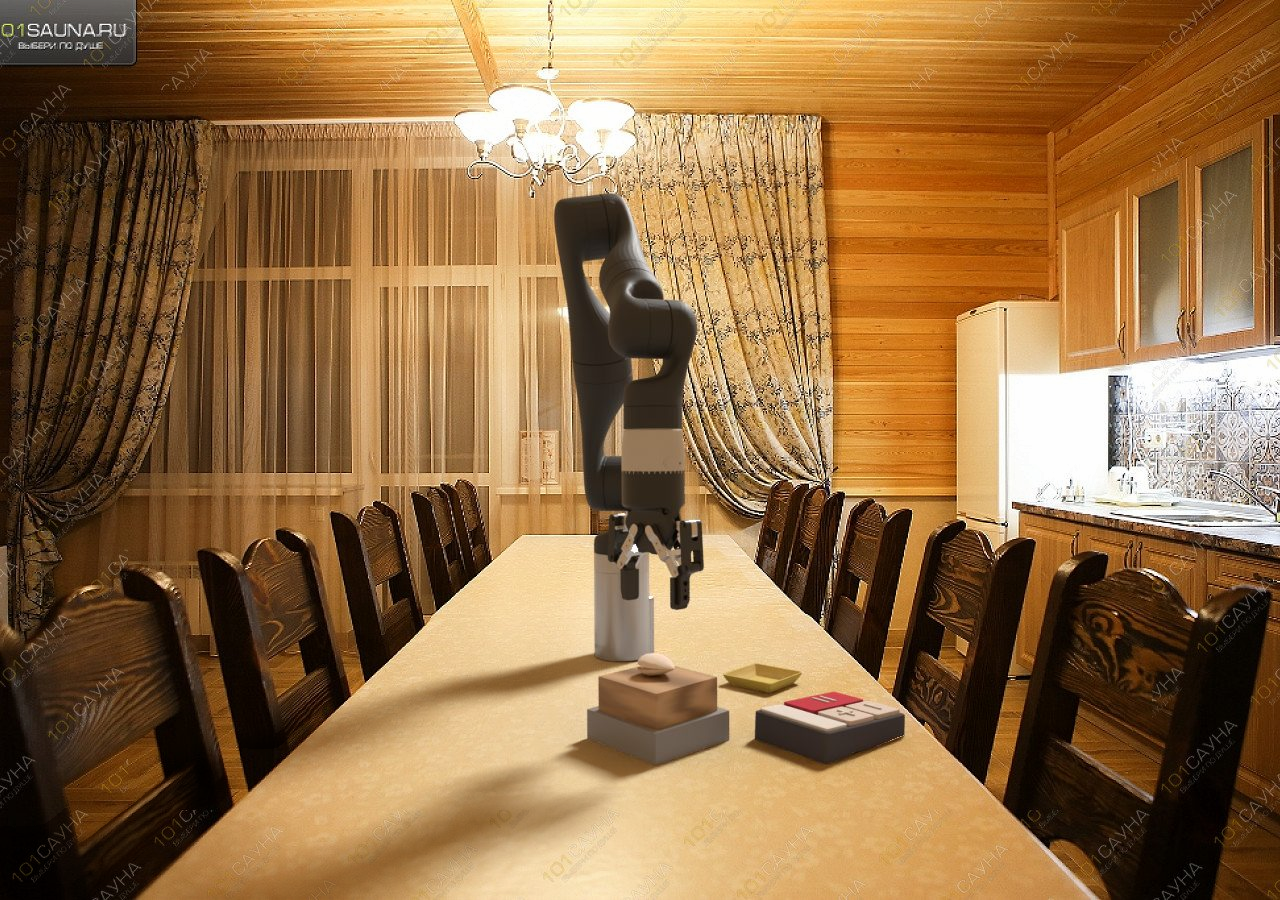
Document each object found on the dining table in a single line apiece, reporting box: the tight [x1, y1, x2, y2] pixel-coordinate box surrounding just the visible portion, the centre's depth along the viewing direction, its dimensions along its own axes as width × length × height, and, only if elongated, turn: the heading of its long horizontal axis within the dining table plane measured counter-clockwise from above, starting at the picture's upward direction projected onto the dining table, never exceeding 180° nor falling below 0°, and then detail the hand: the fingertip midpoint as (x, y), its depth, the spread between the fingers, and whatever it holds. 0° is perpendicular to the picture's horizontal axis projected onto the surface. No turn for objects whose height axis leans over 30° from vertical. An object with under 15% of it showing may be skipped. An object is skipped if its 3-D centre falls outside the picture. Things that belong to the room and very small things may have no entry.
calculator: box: [754, 691, 906, 765], centre depth 103 cm, size 11×4×15 cm
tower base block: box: [586, 705, 730, 766], centre depth 103 cm, size 12×12×4 cm
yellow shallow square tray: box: [722, 663, 803, 694], centre depth 126 cm, size 9×9×2 cm
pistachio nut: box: [636, 652, 675, 676], centre depth 103 cm, size 4×5×2 cm
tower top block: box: [597, 665, 718, 730], centre depth 103 cm, size 10×10×4 cm
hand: (653, 604), depth 103 cm, fingers open, 8 cm apart
